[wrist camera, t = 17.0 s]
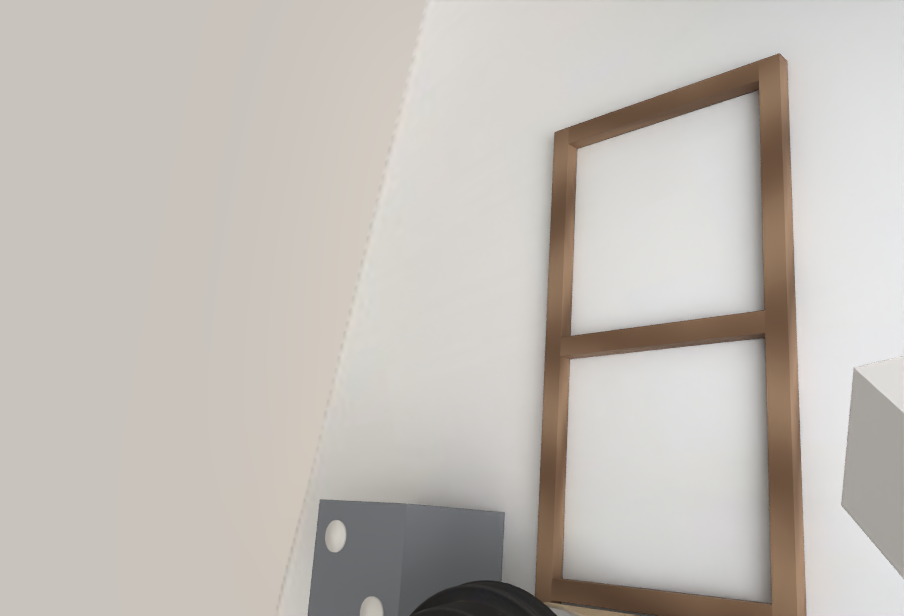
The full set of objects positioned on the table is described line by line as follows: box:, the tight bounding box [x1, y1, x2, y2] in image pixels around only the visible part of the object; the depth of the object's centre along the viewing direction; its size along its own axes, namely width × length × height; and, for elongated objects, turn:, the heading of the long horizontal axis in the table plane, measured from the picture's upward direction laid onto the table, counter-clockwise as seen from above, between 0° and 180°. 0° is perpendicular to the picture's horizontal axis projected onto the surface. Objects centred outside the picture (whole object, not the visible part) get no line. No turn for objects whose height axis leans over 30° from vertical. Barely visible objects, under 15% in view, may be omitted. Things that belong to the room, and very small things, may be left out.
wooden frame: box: [535, 53, 806, 616], centre depth 38 cm, size 37×13×1 cm, turn 174°
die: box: [308, 500, 504, 616], centre depth 44 cm, size 7×7×7 cm
